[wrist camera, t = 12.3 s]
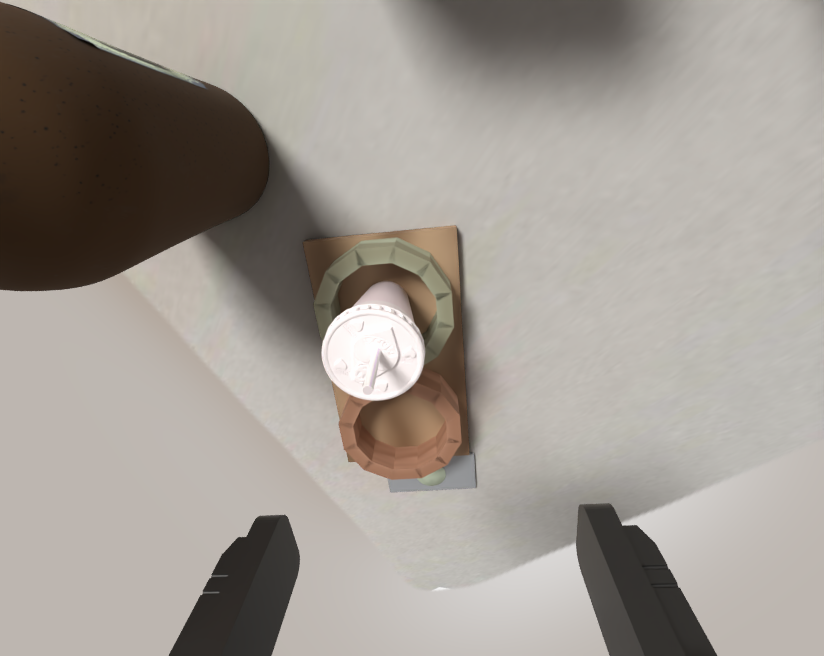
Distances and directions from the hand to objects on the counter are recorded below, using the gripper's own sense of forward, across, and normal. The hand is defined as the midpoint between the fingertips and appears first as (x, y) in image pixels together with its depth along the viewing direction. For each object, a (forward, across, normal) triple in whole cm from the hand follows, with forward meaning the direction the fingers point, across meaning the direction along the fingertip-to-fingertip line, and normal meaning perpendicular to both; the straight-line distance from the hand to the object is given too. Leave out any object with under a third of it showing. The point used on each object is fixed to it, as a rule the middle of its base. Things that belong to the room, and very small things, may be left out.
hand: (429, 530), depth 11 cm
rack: (+24, +4, +7) cm, 26 cm away
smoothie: (+24, +4, +2) cm, 24 cm away
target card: (+24, +2, +21) cm, 32 cm away
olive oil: (+24, +16, -11) cm, 31 cm away
